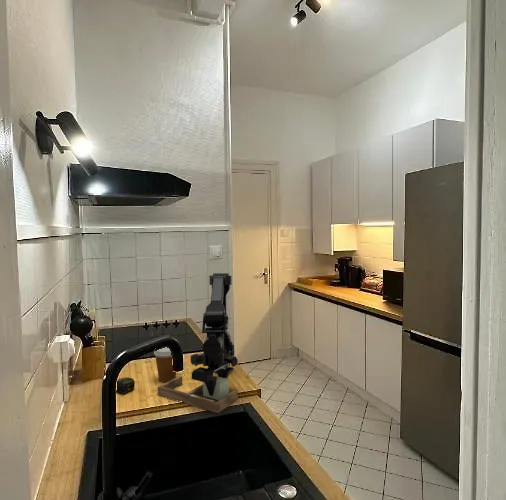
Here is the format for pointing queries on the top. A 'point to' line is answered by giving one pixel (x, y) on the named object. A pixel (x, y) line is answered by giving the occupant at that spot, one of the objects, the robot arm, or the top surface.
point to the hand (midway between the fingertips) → (215, 392)
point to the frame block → (218, 388)
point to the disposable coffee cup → (164, 365)
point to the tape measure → (125, 384)
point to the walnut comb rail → (195, 396)
